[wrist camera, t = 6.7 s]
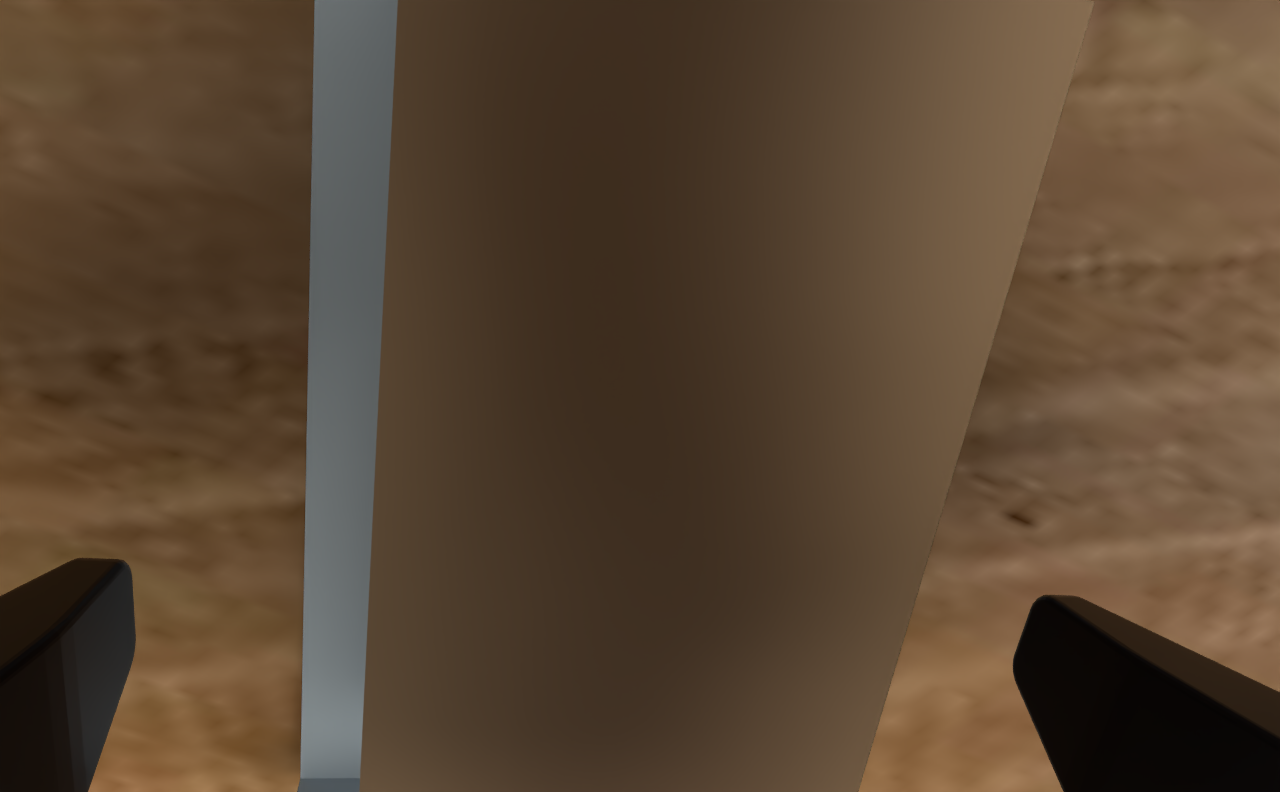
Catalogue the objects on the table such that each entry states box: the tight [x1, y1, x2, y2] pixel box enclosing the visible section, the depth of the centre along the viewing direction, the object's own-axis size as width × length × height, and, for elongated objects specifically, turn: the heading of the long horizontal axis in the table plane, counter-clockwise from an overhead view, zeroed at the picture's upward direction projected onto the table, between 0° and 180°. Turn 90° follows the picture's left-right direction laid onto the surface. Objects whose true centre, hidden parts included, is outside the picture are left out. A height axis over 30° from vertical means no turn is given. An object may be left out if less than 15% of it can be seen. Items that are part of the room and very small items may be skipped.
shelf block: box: [359, 0, 1095, 792], centre depth 10 cm, size 5×12×4 cm, turn 171°
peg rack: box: [297, 0, 398, 792], centre depth 12 cm, size 8×18×7 cm, turn 171°
